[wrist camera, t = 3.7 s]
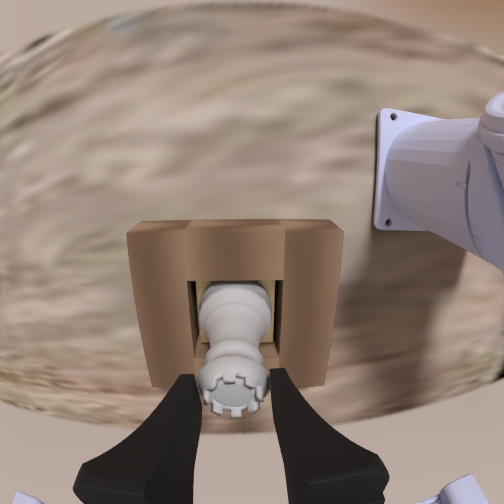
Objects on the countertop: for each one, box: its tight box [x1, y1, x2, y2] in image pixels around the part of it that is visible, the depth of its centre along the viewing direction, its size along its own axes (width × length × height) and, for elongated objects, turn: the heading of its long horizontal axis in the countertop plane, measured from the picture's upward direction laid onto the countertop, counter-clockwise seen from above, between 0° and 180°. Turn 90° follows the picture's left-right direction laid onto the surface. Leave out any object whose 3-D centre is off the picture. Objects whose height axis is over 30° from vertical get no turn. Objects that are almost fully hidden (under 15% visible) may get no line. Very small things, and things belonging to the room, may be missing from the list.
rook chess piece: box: [196, 280, 272, 419], centre depth 16 cm, size 4×4×8 cm
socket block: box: [126, 219, 344, 389], centre depth 20 cm, size 12×11×3 cm
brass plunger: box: [196, 280, 275, 343], centre depth 20 cm, size 5×5×1 cm
